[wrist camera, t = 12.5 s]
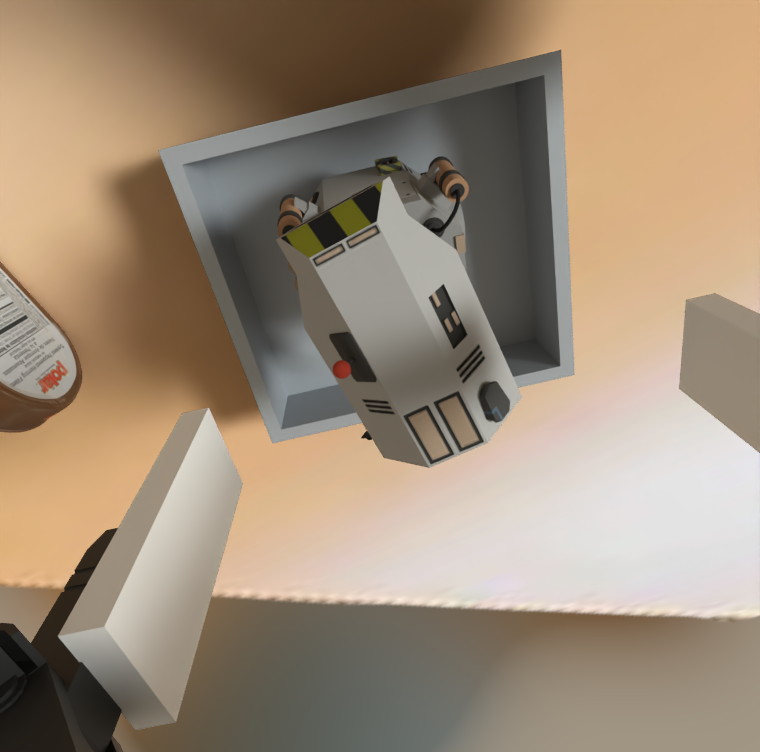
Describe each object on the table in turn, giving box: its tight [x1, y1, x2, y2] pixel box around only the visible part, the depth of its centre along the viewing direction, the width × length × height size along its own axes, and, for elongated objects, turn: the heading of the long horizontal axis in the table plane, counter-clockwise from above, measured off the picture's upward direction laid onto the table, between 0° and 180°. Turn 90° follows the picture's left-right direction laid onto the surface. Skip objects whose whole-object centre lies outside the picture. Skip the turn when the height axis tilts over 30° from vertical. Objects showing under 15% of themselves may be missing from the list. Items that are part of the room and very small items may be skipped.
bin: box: [158, 50, 574, 443], centre depth 28 cm, size 17×19×5 cm
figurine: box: [276, 156, 522, 468], centre depth 23 cm, size 9×12×15 cm
